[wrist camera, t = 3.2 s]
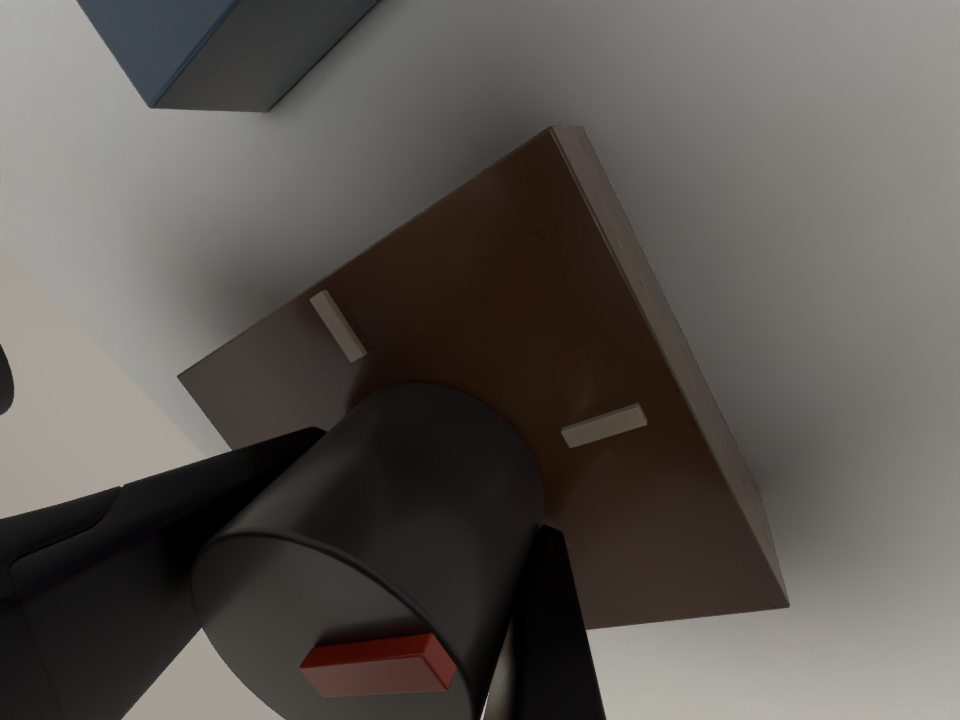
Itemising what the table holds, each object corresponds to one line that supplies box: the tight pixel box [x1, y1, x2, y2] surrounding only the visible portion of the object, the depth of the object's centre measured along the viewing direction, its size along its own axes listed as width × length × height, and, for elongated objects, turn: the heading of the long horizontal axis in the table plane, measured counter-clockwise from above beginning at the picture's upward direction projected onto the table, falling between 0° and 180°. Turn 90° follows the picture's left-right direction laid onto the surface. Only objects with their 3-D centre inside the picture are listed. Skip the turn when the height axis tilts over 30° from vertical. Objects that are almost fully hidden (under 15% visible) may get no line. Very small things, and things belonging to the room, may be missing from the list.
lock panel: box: [177, 127, 790, 630], centre depth 11 cm, size 10×9×3 cm
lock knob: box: [190, 383, 545, 720], centre depth 8 cm, size 4×4×4 cm
